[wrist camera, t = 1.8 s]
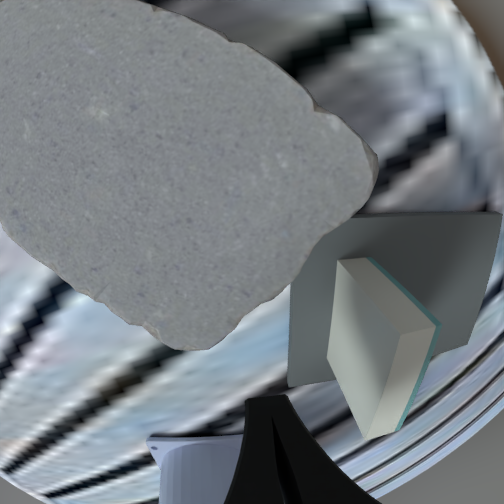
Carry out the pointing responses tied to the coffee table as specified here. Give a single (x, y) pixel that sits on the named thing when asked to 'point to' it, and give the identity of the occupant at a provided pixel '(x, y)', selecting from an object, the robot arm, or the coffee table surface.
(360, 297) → the tile
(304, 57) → the coffee table surface
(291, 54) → the coffee table surface
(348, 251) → the mat
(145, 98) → the decorative stone
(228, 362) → the coffee table surface
